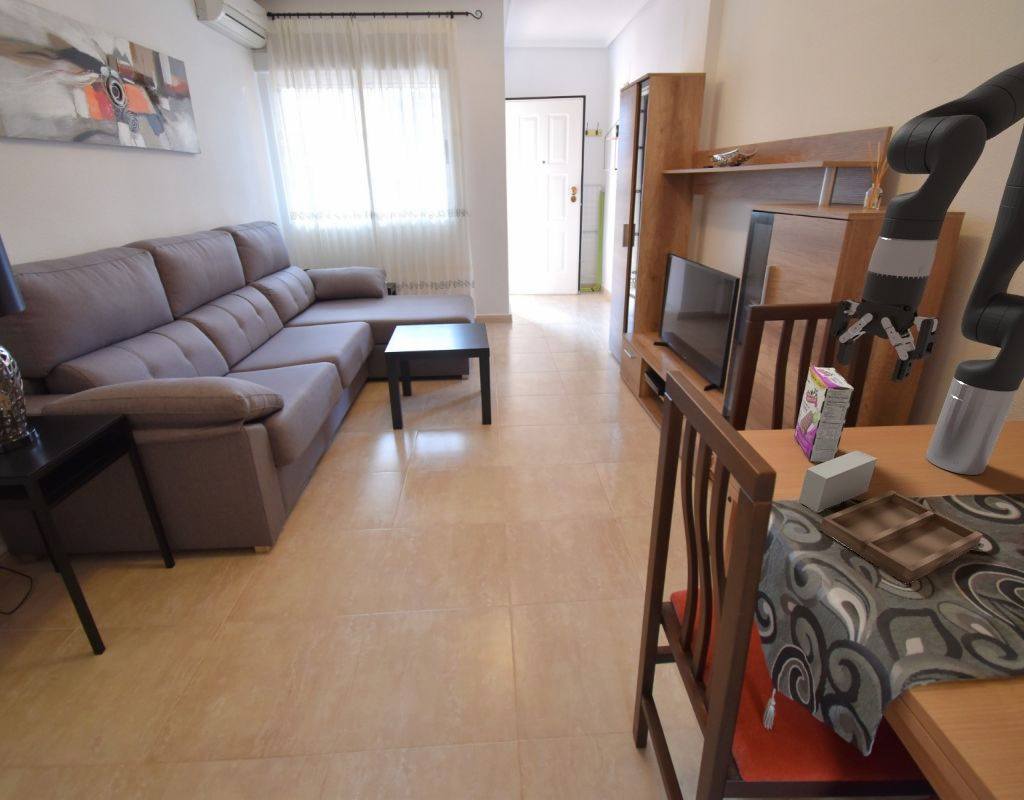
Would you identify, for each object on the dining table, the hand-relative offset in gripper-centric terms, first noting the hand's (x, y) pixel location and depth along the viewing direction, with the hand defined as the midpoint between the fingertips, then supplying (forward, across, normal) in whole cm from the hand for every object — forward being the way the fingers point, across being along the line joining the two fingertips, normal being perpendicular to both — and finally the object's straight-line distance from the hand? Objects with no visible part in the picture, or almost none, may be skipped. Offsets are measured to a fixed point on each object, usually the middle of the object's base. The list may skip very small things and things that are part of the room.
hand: (868, 372), depth 84 cm
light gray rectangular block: (+24, 0, 0) cm, 24 cm away
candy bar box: (+24, +13, -12) cm, 30 cm away
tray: (+24, -12, +2) cm, 27 cm away
